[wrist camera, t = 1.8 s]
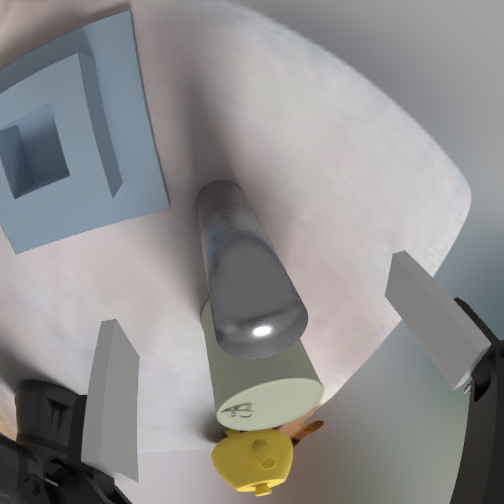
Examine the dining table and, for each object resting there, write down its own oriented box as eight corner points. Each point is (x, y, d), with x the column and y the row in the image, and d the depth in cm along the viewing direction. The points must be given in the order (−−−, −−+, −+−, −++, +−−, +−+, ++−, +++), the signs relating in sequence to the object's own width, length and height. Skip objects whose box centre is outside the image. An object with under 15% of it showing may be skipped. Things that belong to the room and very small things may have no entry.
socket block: (19, 249, 21) (0, 276, 17) (-29, 94, 12) (-59, 101, 8) (170, 203, 22) (168, 228, 19) (131, 13, 14) (119, -4, 10)
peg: (202, 229, 24) (226, 367, 13) (191, 186, 22) (205, 307, 11) (247, 219, 25) (307, 345, 13) (241, 175, 23) (308, 282, 11)
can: (203, 280, 27) (220, 389, 17) (294, 280, 30) (343, 373, 20) (199, 344, 32) (213, 439, 22) (275, 341, 34) (307, 426, 24)
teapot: (208, 412, 41) (223, 489, 29) (299, 400, 45) (325, 468, 33) (208, 450, 51) (219, 505, 39) (277, 441, 55) (293, 492, 43)
